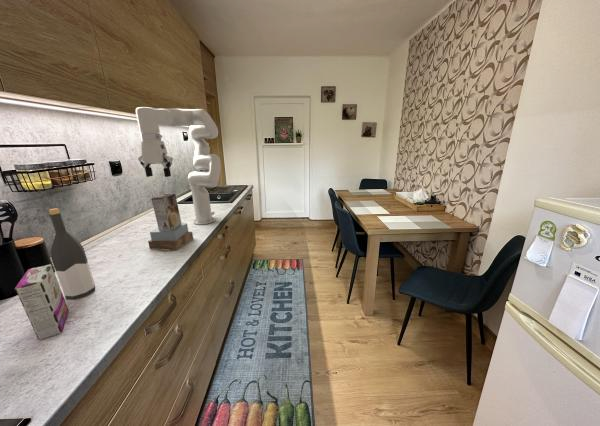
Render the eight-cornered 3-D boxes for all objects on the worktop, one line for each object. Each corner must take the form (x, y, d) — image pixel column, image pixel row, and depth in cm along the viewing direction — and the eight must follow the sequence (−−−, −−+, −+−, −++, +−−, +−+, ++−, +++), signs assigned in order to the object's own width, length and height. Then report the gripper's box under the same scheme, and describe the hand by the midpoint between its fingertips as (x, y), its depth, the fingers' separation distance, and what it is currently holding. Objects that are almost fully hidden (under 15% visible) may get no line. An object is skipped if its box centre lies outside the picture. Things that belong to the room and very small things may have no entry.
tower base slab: (169, 238, 129) (168, 230, 128) (193, 239, 127) (192, 231, 126) (149, 249, 116) (148, 241, 115) (175, 251, 114) (174, 242, 112)
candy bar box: (47, 317, 71) (27, 268, 67) (69, 310, 74) (52, 263, 69) (36, 342, 63) (13, 287, 58) (62, 333, 65) (42, 280, 61)
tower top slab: (165, 231, 127) (164, 223, 125) (188, 231, 126) (187, 223, 125) (151, 240, 115) (149, 232, 114) (176, 240, 115) (174, 232, 113)
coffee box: (170, 224, 124) (163, 193, 119) (182, 224, 123) (176, 193, 118) (158, 231, 115) (150, 198, 110) (170, 231, 114) (163, 198, 109)
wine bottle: (90, 283, 88) (65, 204, 79) (100, 290, 84) (75, 207, 75) (61, 295, 81) (30, 210, 73) (70, 303, 77) (39, 214, 69)
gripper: (174, 137, 109) (180, 175, 114) (141, 138, 112) (148, 175, 117) (162, 137, 102) (169, 178, 107) (127, 138, 105) (136, 177, 110)
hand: (158, 176), depth 112 cm, fingers open, 9 cm apart
